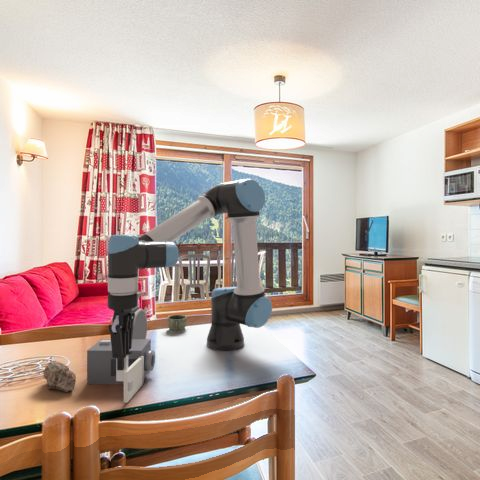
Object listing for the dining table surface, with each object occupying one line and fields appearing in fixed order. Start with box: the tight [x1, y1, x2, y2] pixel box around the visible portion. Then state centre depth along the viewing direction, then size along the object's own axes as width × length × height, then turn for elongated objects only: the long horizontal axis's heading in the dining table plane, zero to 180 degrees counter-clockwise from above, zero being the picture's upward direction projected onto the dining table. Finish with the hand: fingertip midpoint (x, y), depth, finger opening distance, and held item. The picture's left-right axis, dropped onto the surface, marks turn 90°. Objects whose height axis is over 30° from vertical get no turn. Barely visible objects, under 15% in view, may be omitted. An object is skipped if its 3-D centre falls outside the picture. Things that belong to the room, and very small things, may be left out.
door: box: [123, 356, 145, 404], centre depth 86 cm, size 11×2×8 cm, turn 175°
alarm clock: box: [131, 306, 148, 339], centre depth 111 cm, size 16×10×18 cm, turn 178°
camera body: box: [86, 338, 156, 385], centre depth 96 cm, size 18×10×11 cm, turn 91°
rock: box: [43, 360, 77, 393], centre depth 90 cm, size 7×11×10 cm
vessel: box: [166, 314, 188, 334], centre depth 144 cm, size 12×9×6 cm
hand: (122, 379), depth 83 cm, fingers closed
